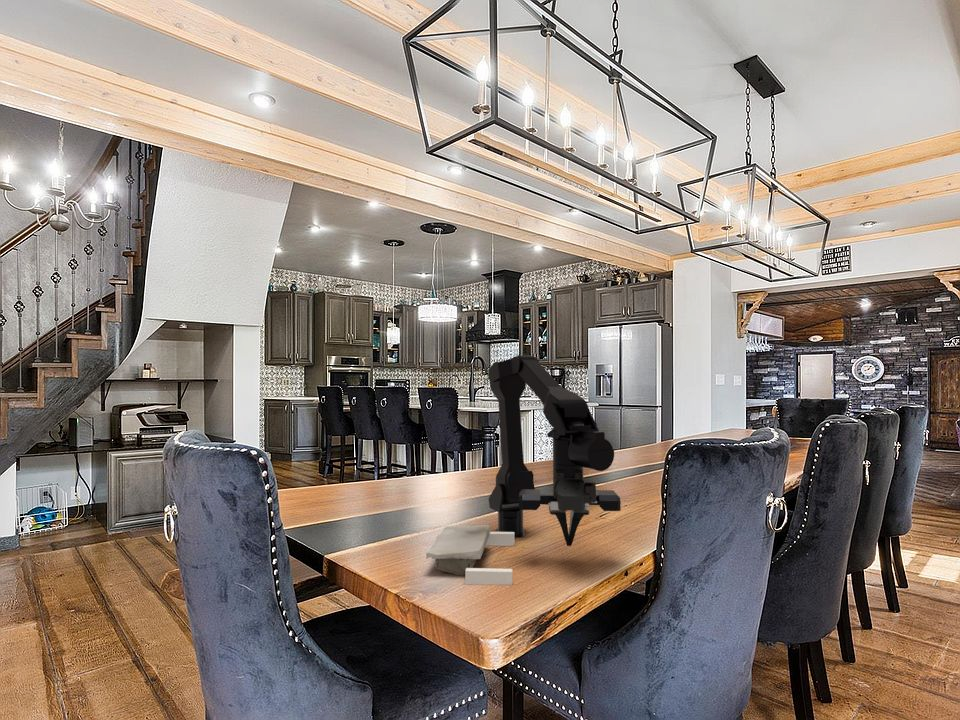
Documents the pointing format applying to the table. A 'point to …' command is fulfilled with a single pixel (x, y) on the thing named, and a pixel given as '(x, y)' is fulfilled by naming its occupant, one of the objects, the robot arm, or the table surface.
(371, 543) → the table surface
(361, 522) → the table surface
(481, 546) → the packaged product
